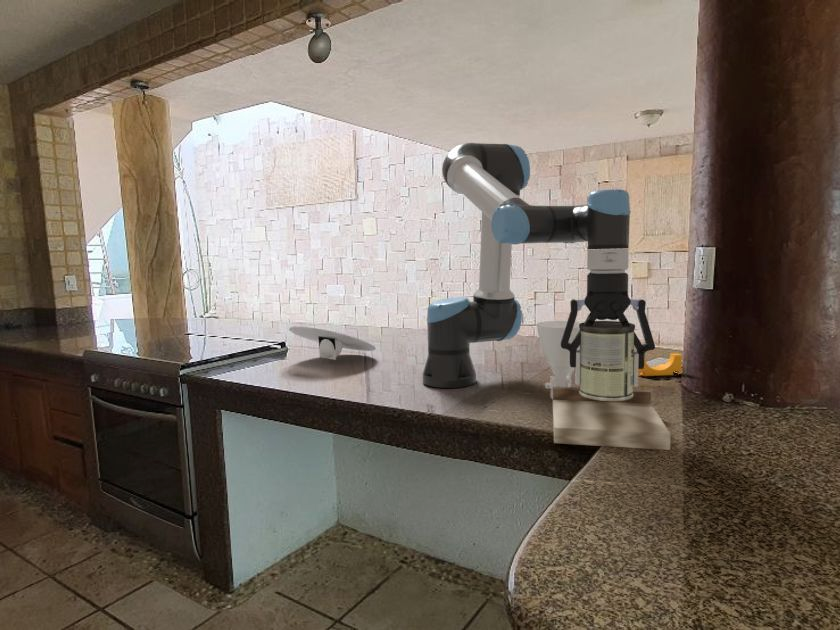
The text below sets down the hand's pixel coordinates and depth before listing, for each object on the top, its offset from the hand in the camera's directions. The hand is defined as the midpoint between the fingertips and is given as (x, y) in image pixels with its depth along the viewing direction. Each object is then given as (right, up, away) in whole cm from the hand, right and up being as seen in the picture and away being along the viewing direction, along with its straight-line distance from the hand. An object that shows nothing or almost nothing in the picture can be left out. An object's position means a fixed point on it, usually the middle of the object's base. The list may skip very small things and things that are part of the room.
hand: (605, 384), depth 104 cm
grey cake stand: (-74, +3, +66) cm, 100 cm away
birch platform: (0, -9, +1) cm, 9 cm away
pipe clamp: (+29, -4, +41) cm, 50 cm away
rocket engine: (-3, -7, +23) cm, 24 cm away
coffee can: (0, -2, 0) cm, 2 cm away
